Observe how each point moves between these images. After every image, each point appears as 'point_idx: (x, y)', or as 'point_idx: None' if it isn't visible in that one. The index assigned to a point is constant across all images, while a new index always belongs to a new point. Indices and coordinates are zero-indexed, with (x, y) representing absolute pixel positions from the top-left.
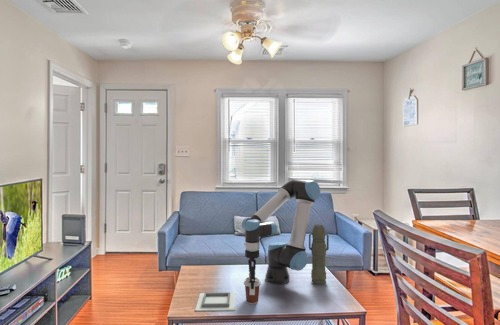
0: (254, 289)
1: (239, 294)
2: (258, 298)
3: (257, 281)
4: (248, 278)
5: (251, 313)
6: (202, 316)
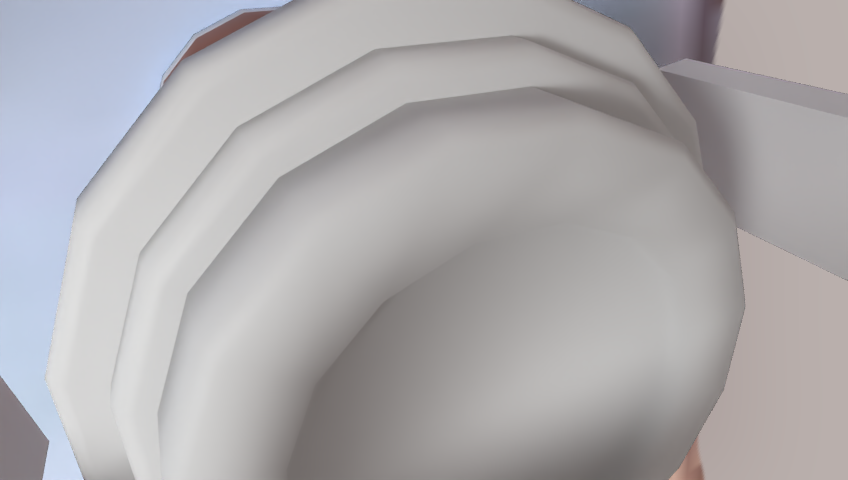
0: (811, 98)
1: (57, 450)
2: (254, 13)
3: (646, 129)
4: None
5: (667, 31)
6: (694, 466)
